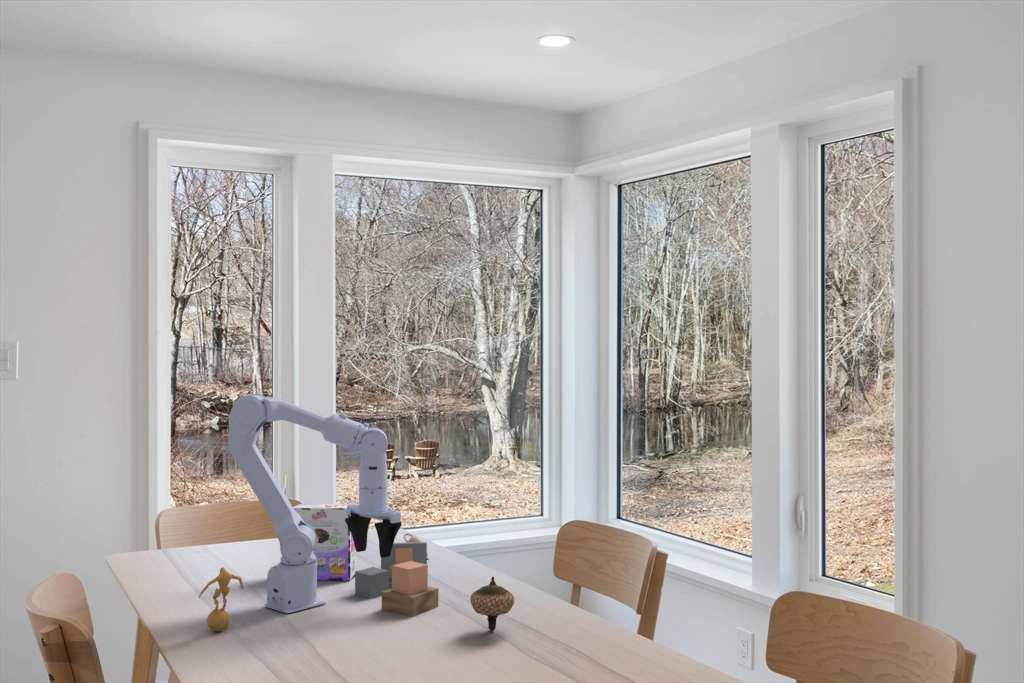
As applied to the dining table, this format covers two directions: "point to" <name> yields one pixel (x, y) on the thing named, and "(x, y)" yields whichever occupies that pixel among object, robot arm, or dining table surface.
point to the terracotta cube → (409, 577)
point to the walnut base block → (409, 602)
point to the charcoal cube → (371, 582)
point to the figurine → (218, 616)
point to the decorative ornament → (412, 539)
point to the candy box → (331, 540)
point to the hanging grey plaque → (404, 555)
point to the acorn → (492, 602)
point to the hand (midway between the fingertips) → (373, 553)
